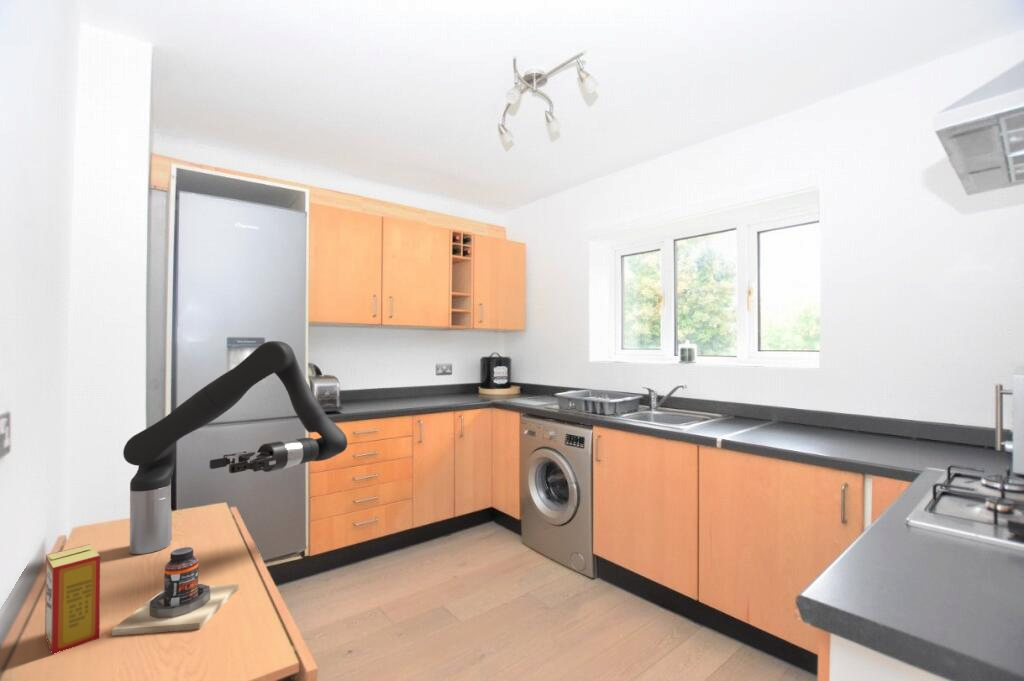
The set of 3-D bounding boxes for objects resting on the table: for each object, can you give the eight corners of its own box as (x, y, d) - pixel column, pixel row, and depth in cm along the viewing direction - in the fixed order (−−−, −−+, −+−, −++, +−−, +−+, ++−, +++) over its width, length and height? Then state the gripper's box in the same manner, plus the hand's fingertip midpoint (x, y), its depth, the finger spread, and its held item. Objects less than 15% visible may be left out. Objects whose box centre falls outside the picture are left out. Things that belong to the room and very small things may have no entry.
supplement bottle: (180, 613, 96) (180, 557, 97) (156, 610, 98) (156, 555, 98) (205, 598, 102) (205, 545, 103) (182, 595, 103) (182, 544, 104)
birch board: (164, 594, 107) (164, 588, 107) (238, 589, 109) (238, 583, 109) (112, 635, 91) (112, 629, 91) (199, 629, 93) (199, 623, 93)
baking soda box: (99, 637, 90) (100, 553, 91) (52, 655, 85) (53, 566, 86) (89, 621, 96) (90, 542, 97) (45, 636, 91) (46, 553, 92)
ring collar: (169, 594, 104) (169, 585, 105) (219, 590, 106) (219, 582, 106) (137, 620, 94) (137, 611, 94) (192, 616, 95) (192, 607, 95)
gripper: (265, 438, 132) (204, 448, 118) (297, 443, 125) (237, 454, 111) (264, 465, 132) (203, 478, 118) (297, 472, 125) (236, 486, 111)
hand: (219, 466), depth 115 cm, fingers open, 8 cm apart
